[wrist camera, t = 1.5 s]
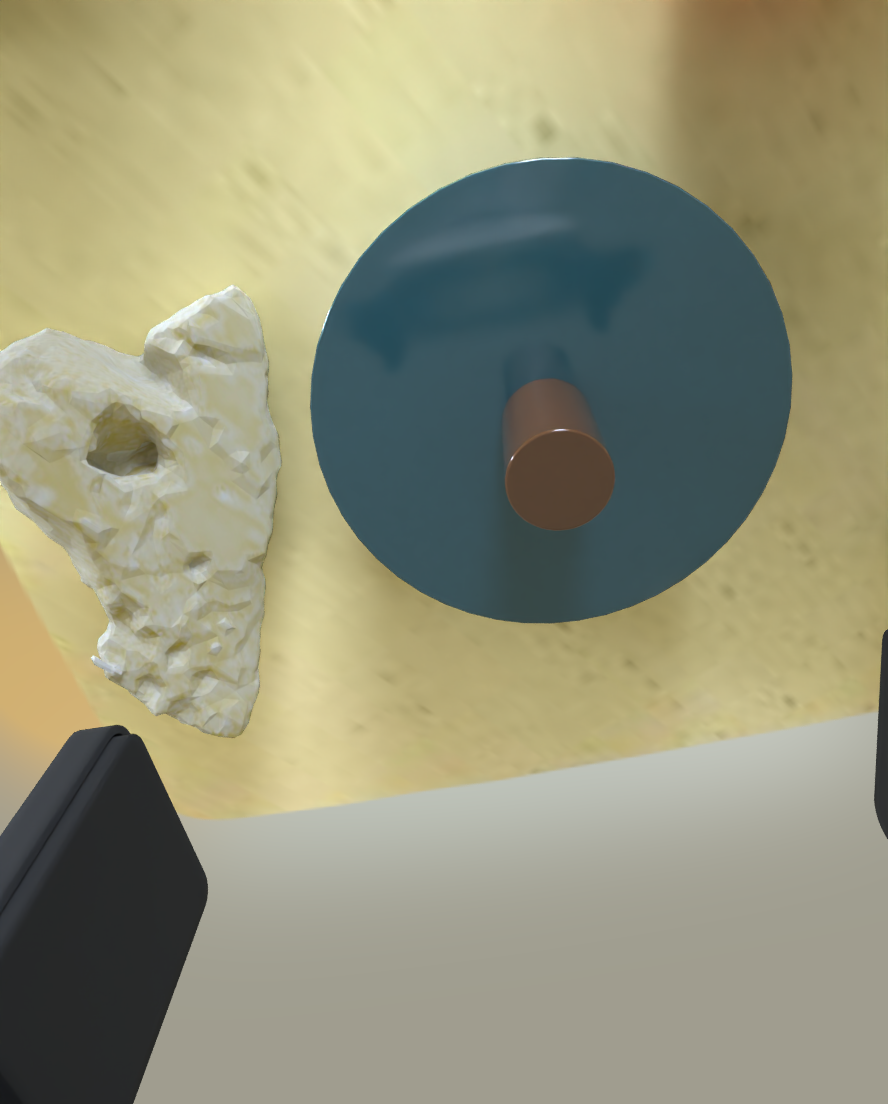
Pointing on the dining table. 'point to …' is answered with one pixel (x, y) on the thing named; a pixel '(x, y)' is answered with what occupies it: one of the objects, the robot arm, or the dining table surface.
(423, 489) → the jar lid
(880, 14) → the dining table surface
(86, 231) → the dining table surface
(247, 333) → the white coral rock
